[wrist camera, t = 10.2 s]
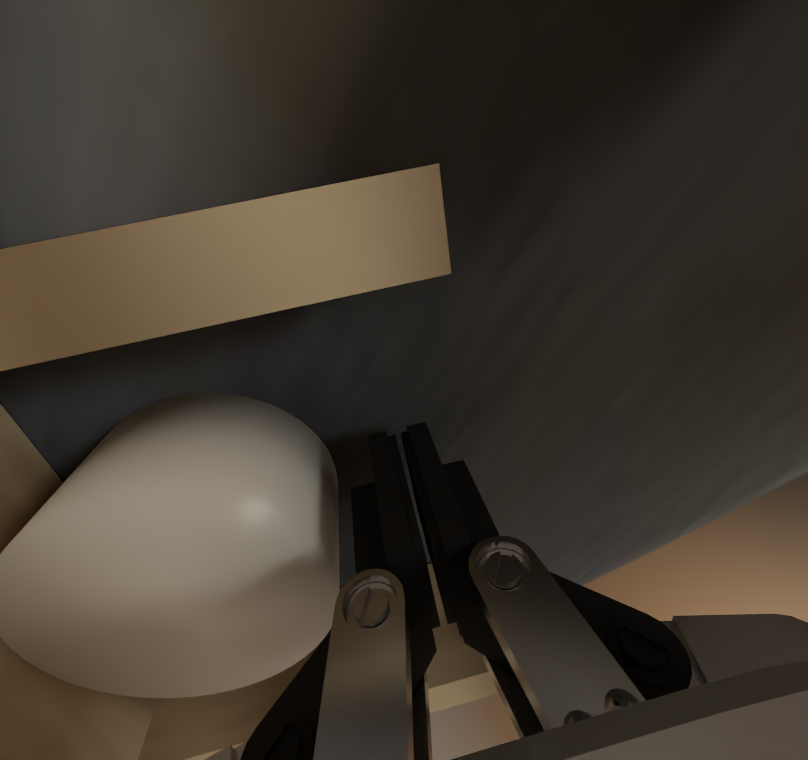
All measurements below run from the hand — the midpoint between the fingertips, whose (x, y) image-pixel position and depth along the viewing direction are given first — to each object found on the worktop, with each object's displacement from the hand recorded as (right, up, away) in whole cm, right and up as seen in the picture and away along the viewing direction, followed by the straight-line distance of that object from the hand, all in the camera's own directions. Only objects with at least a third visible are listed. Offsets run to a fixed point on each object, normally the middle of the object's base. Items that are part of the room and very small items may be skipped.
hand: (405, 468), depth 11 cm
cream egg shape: (-6, -1, +1) cm, 6 cm away
